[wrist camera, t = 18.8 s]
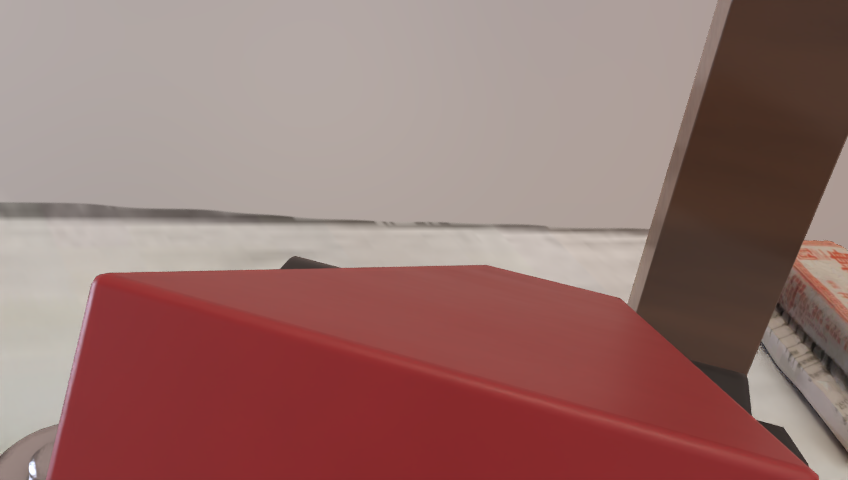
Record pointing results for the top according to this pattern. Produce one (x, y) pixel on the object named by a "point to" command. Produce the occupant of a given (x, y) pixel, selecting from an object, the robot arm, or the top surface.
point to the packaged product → (815, 331)
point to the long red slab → (390, 383)
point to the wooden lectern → (745, 175)
